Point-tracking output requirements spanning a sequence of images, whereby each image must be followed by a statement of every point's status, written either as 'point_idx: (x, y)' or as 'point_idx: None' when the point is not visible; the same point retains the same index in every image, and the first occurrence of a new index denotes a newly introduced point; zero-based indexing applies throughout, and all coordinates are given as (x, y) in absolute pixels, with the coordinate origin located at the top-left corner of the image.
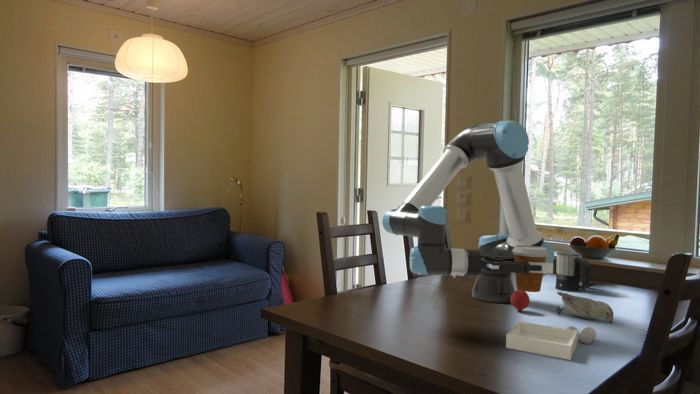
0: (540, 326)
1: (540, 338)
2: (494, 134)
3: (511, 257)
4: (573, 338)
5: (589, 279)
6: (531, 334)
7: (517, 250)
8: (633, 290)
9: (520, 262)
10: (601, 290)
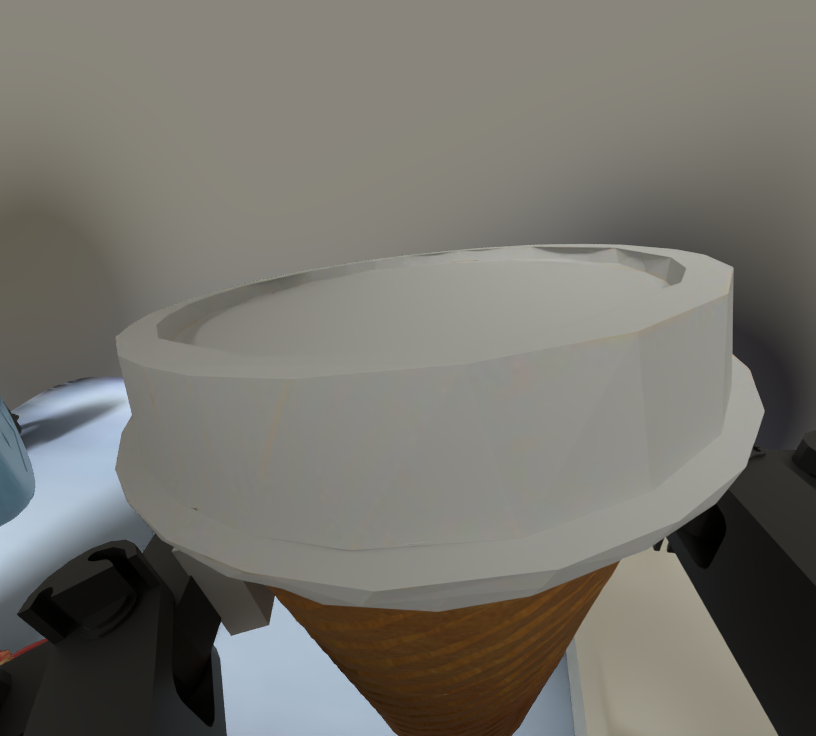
0: (590, 639)
1: (648, 667)
2: None
3: (38, 702)
4: None
5: (12, 415)
6: (612, 718)
7: (713, 394)
8: (81, 389)
9: (789, 534)
10: (34, 424)
